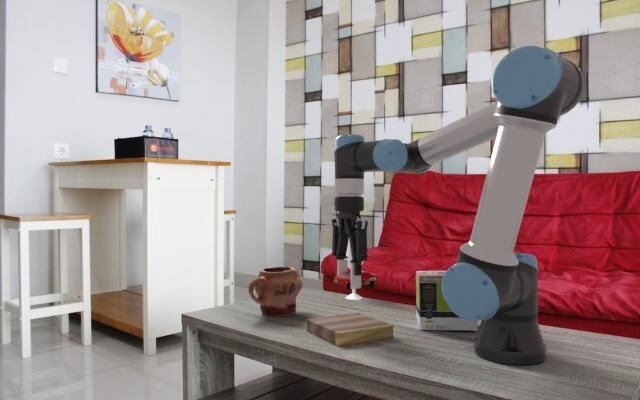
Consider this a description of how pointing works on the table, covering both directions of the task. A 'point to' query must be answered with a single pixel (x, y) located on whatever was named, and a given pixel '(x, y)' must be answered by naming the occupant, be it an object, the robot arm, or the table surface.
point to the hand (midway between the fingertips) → (348, 286)
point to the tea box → (436, 305)
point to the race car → (366, 279)
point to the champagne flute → (349, 255)
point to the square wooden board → (349, 329)
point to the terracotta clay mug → (276, 290)
